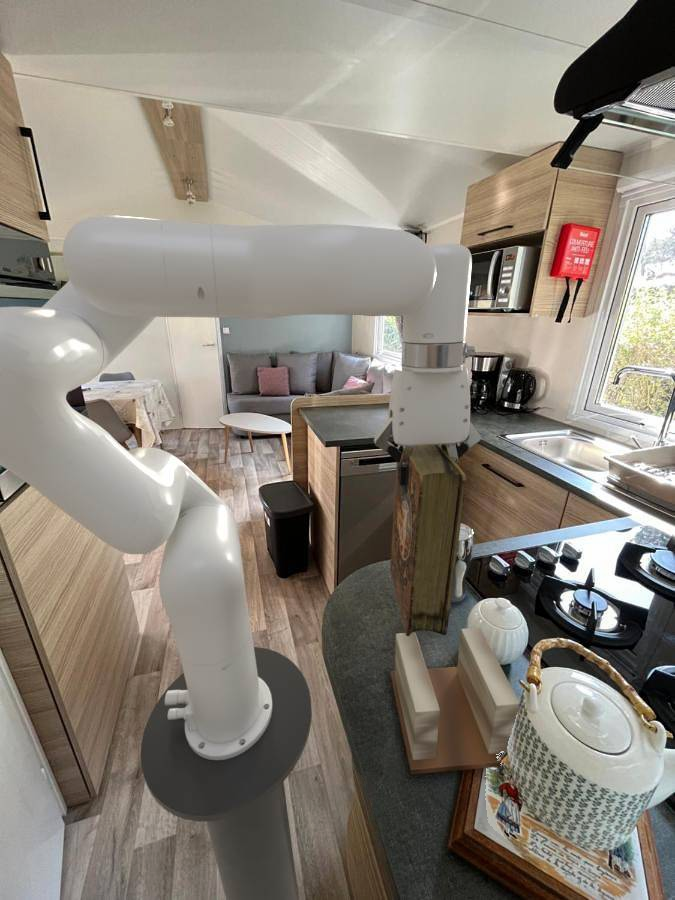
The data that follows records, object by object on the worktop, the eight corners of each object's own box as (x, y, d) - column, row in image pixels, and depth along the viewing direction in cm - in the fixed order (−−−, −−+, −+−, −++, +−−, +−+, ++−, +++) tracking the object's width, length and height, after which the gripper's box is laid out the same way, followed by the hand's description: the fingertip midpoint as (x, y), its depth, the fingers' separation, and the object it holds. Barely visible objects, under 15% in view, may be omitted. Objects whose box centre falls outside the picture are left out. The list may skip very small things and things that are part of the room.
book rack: (410, 774, 49) (413, 720, 45) (390, 676, 62) (391, 628, 58) (517, 765, 49) (528, 711, 46) (474, 669, 62) (480, 622, 59)
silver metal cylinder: (474, 601, 77) (481, 537, 71) (442, 607, 75) (447, 542, 70) (457, 579, 83) (462, 519, 78) (427, 584, 82) (431, 523, 77)
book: (388, 566, 68) (396, 433, 60) (419, 565, 68) (431, 433, 60) (406, 640, 53) (420, 477, 44) (445, 640, 53) (467, 476, 44)
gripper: (485, 351, 52) (472, 474, 58) (361, 355, 51) (361, 480, 57) (512, 358, 44) (494, 497, 51) (369, 363, 44) (369, 504, 50)
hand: (424, 487), depth 54 cm, fingers closed on book, 4 cm apart
